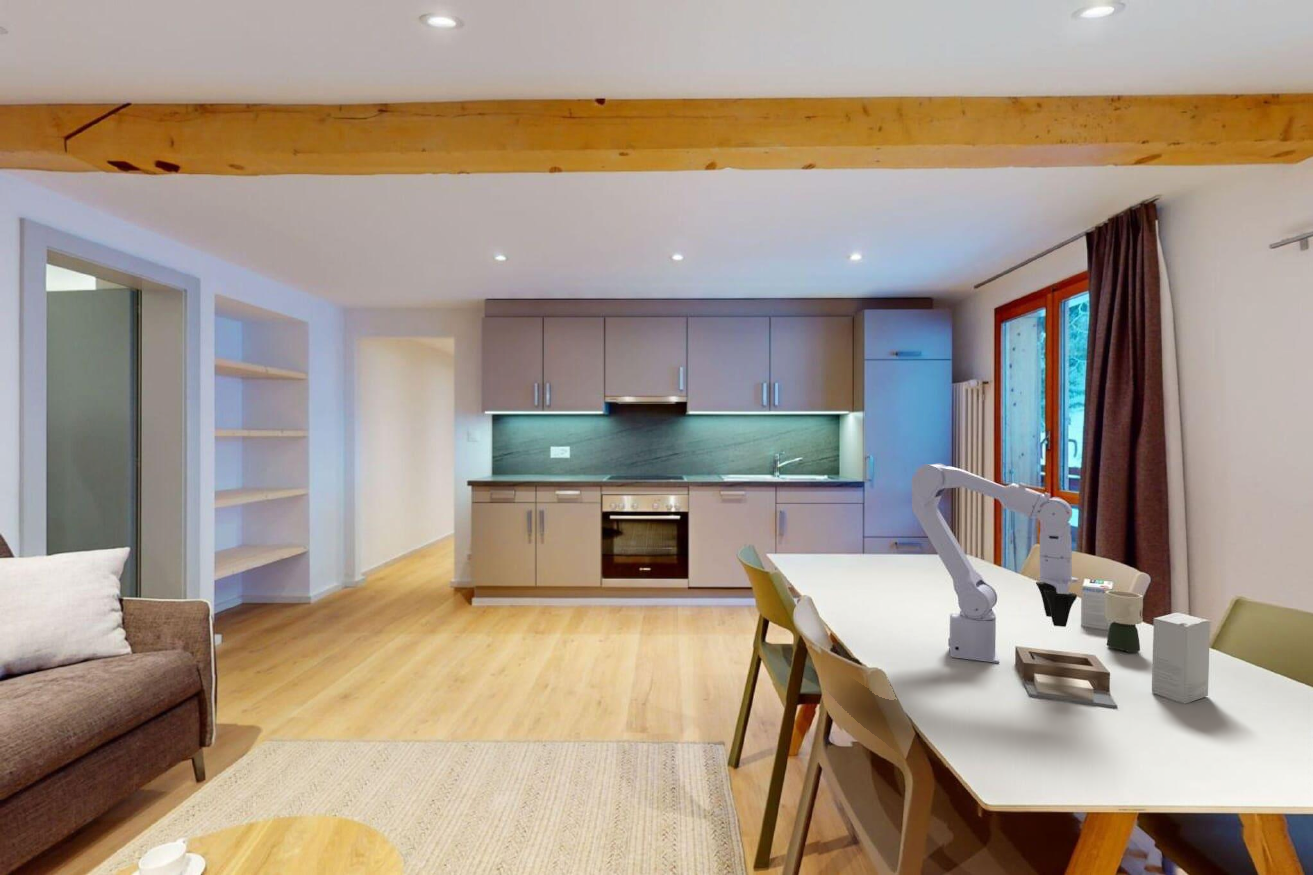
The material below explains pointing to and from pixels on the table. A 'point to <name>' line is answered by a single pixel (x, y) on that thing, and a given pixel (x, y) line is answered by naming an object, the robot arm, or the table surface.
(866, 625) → the table surface
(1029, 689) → the slate mat
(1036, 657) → the tipping switch rocker
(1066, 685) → the birch bar
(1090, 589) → the light bulb box
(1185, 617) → the skincare box
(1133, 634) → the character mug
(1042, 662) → the walnut board
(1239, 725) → the table surface
